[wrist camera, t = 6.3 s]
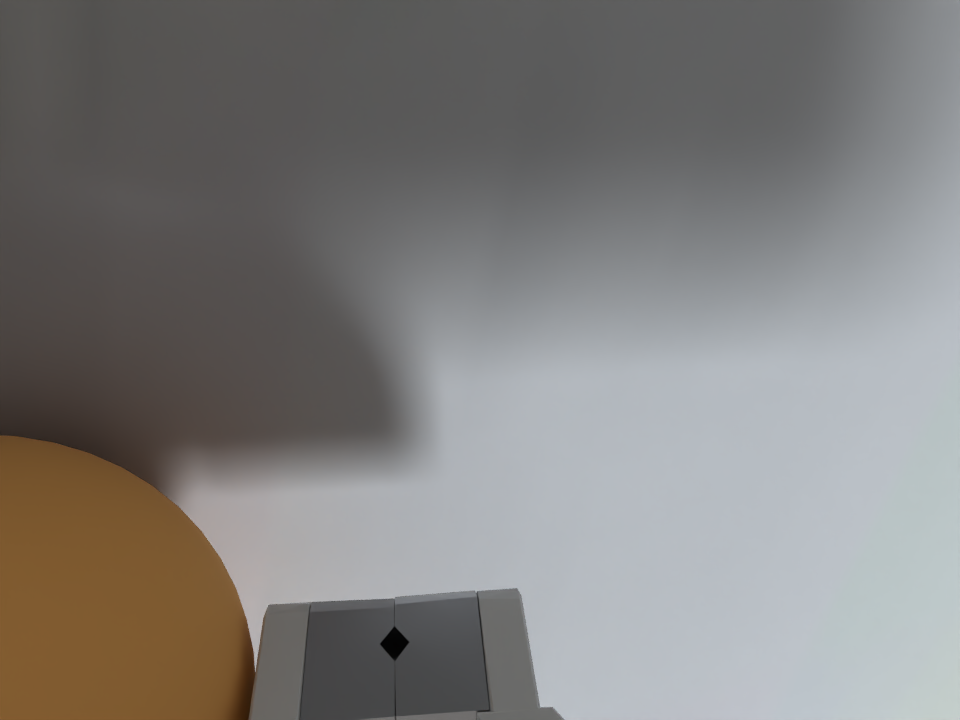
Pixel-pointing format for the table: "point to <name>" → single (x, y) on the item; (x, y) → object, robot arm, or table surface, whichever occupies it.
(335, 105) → the table surface
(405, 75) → the table surface
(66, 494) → the ball
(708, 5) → the table surface
